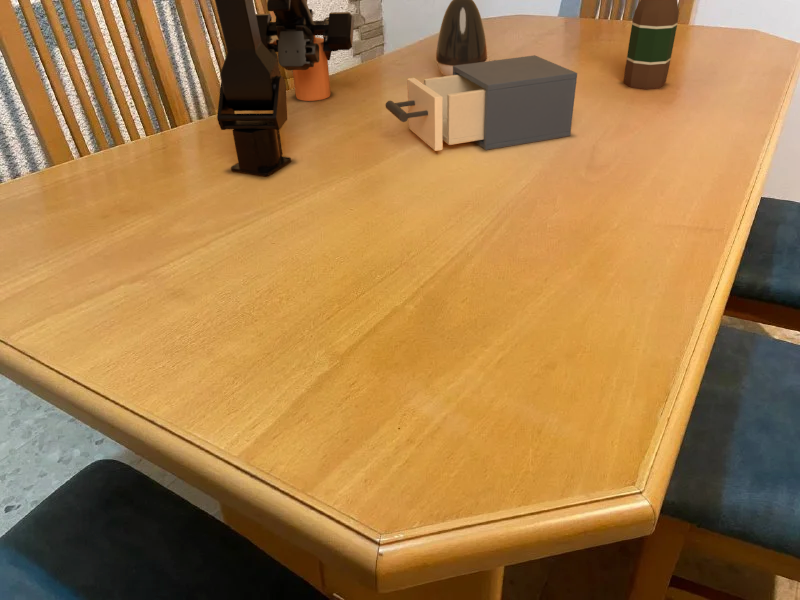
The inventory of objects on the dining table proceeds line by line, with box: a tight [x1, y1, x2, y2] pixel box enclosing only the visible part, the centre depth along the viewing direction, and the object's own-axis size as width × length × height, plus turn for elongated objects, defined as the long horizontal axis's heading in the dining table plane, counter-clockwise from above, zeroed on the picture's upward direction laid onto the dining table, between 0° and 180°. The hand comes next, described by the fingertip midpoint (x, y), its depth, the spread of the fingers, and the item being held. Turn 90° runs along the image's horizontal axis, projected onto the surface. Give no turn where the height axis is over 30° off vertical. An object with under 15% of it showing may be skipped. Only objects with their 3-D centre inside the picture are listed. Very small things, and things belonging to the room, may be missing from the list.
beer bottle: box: [623, 0, 680, 90], centre depth 115 cm, size 8×8×24 cm
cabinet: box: [453, 54, 578, 151], centre depth 100 cm, size 15×13×10 cm
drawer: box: [385, 74, 486, 152], centre depth 97 cm, size 18×11×8 cm, turn 109°
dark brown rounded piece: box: [435, 0, 488, 76], centre depth 126 cm, size 10×10×15 cm
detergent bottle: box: [292, 36, 332, 102], centre depth 120 cm, size 7×7×12 cm
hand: (310, 58), depth 121 cm, fingers closed on detergent bottle, 6 cm apart
